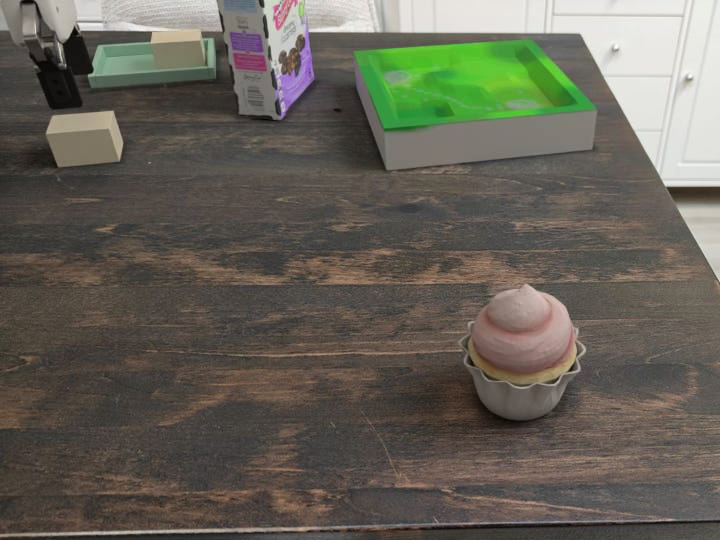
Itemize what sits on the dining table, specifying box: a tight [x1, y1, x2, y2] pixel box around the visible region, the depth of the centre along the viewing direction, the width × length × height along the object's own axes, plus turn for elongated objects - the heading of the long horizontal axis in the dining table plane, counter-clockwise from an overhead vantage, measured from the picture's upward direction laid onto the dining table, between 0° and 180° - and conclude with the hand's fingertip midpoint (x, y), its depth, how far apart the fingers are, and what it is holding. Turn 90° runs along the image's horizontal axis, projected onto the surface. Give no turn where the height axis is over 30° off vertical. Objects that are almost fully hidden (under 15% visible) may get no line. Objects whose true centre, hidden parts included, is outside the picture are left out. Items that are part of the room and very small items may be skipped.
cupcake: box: [457, 283, 587, 421], centre depth 54 cm, size 9×9×10 cm
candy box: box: [216, 0, 316, 121], centre depth 94 cm, size 14×6×16 cm, turn 171°
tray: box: [352, 38, 598, 171], centre depth 94 cm, size 25×25×5 cm
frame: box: [87, 37, 217, 89], centre depth 105 cm, size 16×13×2 cm
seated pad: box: [150, 28, 206, 70], centre depth 105 cm, size 6×5×4 cm
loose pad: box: [45, 110, 124, 168], centre depth 85 cm, size 6×5×4 cm
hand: (73, 90), depth 81 cm, fingers open, 9 cm apart
